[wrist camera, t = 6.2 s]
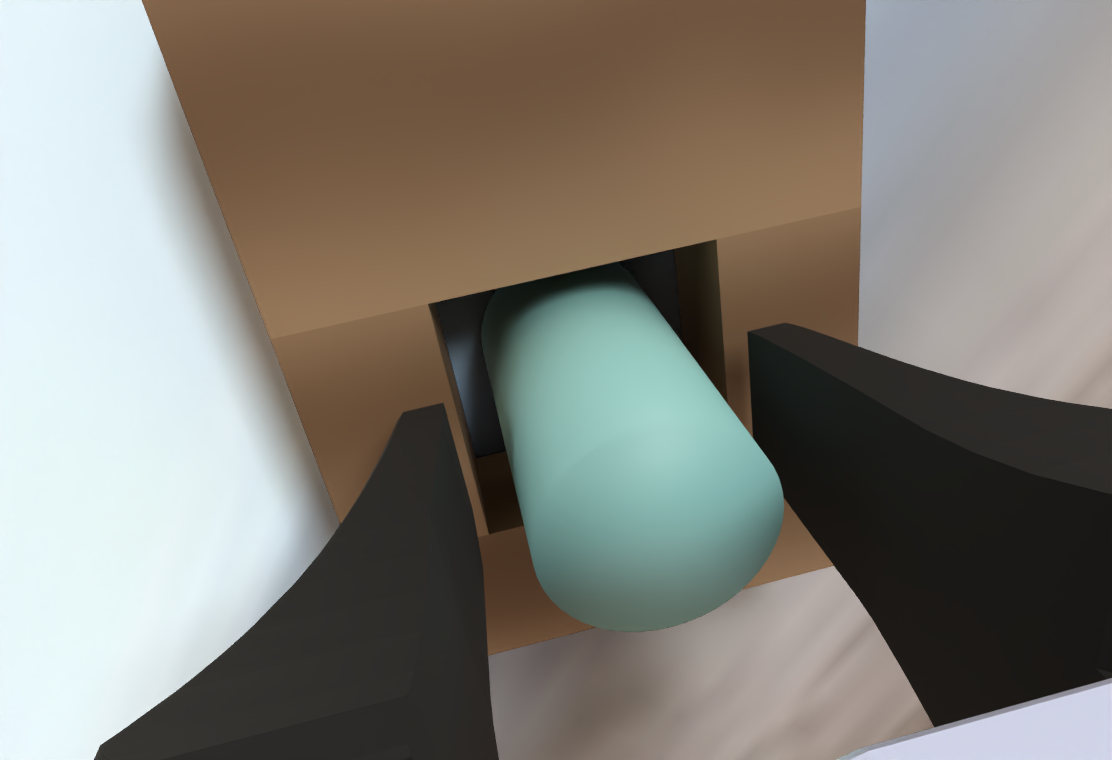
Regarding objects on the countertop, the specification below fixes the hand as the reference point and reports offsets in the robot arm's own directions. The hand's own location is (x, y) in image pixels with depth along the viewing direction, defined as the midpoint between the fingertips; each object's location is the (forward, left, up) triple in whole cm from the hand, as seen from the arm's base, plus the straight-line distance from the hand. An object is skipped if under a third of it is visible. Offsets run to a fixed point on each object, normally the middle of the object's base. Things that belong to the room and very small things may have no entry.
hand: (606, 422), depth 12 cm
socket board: (+1, 0, -3) cm, 3 cm away
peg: (0, 0, -3) cm, 3 cm away
